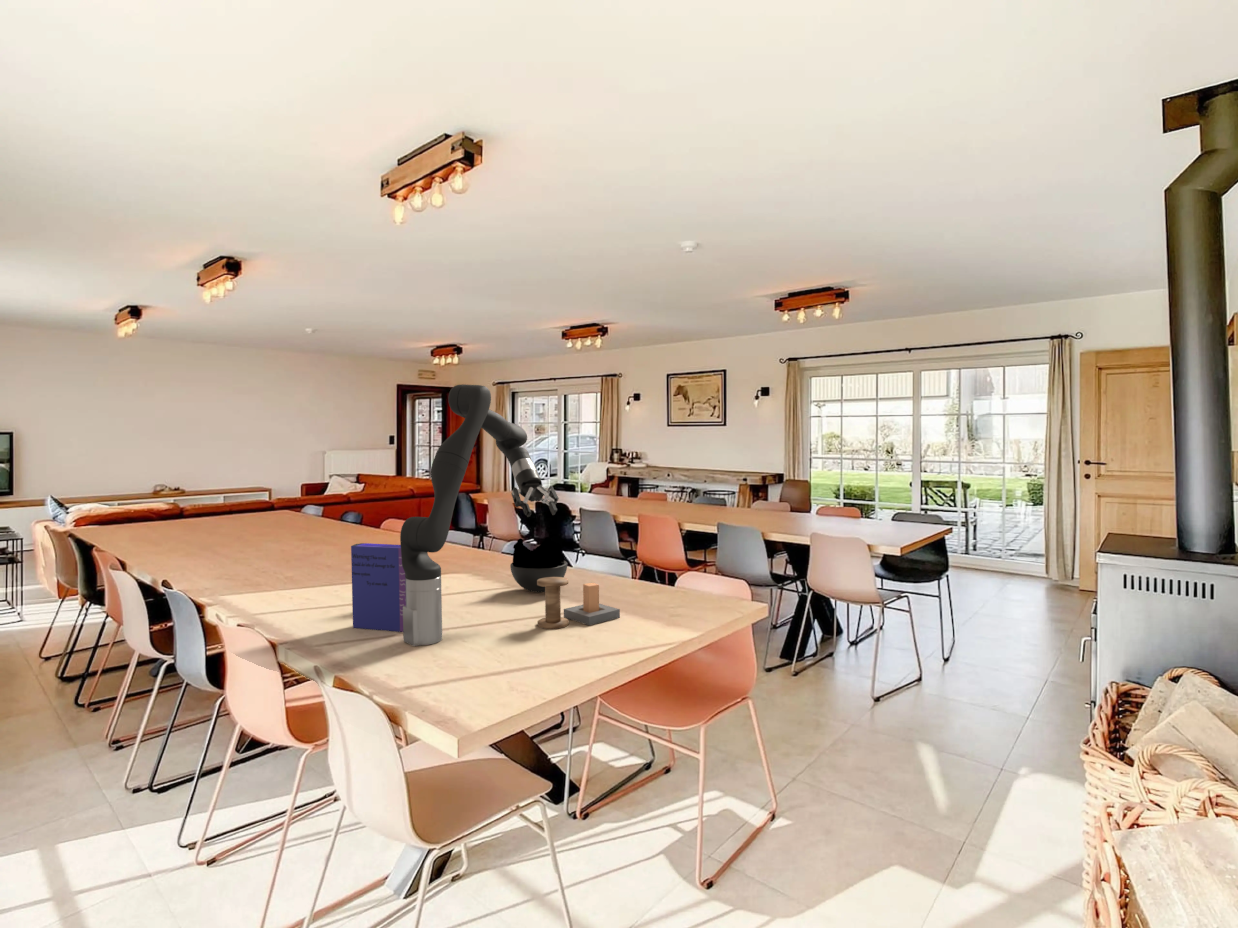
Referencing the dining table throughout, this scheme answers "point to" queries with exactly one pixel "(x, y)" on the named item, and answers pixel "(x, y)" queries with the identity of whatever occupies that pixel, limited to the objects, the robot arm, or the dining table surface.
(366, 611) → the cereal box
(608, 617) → the block with square hole
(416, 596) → the robot arm
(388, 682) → the dining table surface
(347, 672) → the dining table surface
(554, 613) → the bobbin
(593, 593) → the orange rectangular block
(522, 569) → the bowl of black rocks
